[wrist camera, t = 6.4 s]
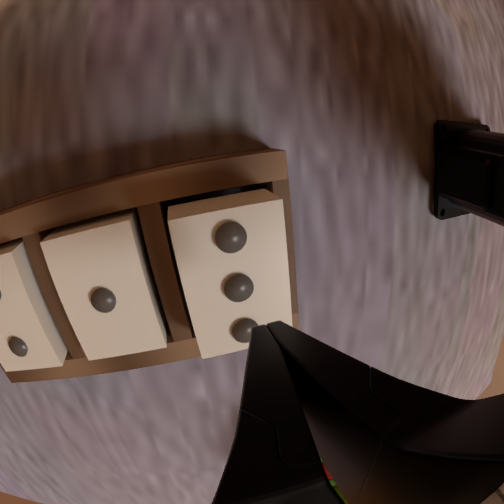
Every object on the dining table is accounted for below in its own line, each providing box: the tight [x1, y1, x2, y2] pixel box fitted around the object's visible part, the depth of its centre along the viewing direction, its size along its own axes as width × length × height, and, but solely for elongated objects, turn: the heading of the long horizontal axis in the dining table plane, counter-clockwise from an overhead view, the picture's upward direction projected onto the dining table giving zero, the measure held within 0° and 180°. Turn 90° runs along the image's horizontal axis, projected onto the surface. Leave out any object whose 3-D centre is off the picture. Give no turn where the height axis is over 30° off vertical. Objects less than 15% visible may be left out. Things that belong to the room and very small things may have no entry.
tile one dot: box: [40, 207, 167, 361], centre depth 13 cm, size 4×6×2 cm, turn 7°
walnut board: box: [0, 148, 299, 383], centre depth 13 cm, size 17×9×2 cm, turn 97°
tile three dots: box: [168, 189, 293, 359], centre depth 12 cm, size 4×6×2 cm, turn 7°
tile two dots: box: [0, 238, 68, 372], centre depth 12 cm, size 4×6×2 cm, turn 6°
